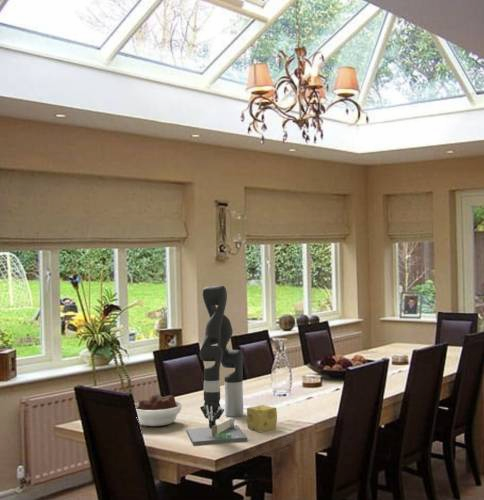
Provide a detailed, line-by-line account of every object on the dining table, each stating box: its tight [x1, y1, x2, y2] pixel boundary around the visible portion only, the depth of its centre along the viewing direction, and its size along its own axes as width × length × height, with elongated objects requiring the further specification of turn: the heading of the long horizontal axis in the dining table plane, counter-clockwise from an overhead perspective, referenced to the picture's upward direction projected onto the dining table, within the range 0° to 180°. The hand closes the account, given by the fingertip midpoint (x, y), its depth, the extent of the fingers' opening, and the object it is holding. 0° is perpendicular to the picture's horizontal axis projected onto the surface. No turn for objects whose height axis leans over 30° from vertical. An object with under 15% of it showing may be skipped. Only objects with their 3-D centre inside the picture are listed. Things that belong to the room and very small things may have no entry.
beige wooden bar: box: [212, 417, 235, 435], centre depth 327 cm, size 18×4×4 cm, turn 154°
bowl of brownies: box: [134, 393, 183, 427], centre depth 351 cm, size 25×25×15 cm
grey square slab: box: [185, 424, 249, 446], centre depth 324 cm, size 24×24×3 cm
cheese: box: [246, 404, 278, 433], centre depth 337 cm, size 10×11×10 cm
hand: (212, 428), depth 324 cm, fingers closed
